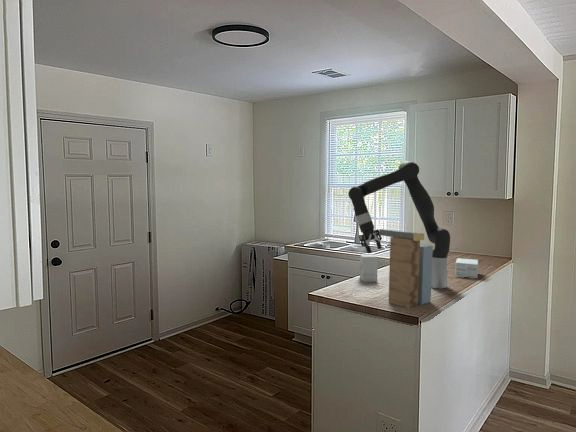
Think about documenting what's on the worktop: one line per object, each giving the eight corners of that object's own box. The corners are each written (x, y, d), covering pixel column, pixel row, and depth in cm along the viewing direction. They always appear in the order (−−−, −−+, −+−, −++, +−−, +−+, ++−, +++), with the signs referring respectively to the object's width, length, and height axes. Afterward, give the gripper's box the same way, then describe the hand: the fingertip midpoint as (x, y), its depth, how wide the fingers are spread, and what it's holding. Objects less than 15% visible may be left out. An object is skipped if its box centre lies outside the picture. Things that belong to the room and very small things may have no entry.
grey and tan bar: (385, 234, 221) (385, 228, 221) (424, 239, 202) (424, 233, 202) (377, 235, 218) (377, 229, 218) (416, 240, 199) (416, 234, 199)
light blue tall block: (410, 296, 223) (412, 242, 221) (430, 302, 213) (432, 245, 211) (401, 298, 219) (403, 243, 216) (421, 304, 209) (423, 247, 207)
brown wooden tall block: (397, 299, 217) (399, 236, 214) (417, 305, 207) (420, 239, 205) (388, 302, 213) (390, 237, 210) (408, 307, 203) (410, 240, 201)
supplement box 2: (456, 271, 287) (456, 258, 287) (477, 273, 282) (478, 259, 281) (454, 276, 272) (455, 262, 271) (477, 279, 267) (478, 264, 266)
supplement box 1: (374, 278, 265) (374, 254, 264) (377, 281, 256) (378, 256, 255) (359, 278, 264) (359, 254, 263) (362, 281, 255) (362, 256, 254)
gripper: (368, 221, 241) (378, 248, 240) (351, 226, 233) (361, 255, 231) (378, 217, 236) (388, 246, 234) (361, 223, 227) (371, 253, 226)
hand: (375, 250), depth 233 cm, fingers open, 8 cm apart
